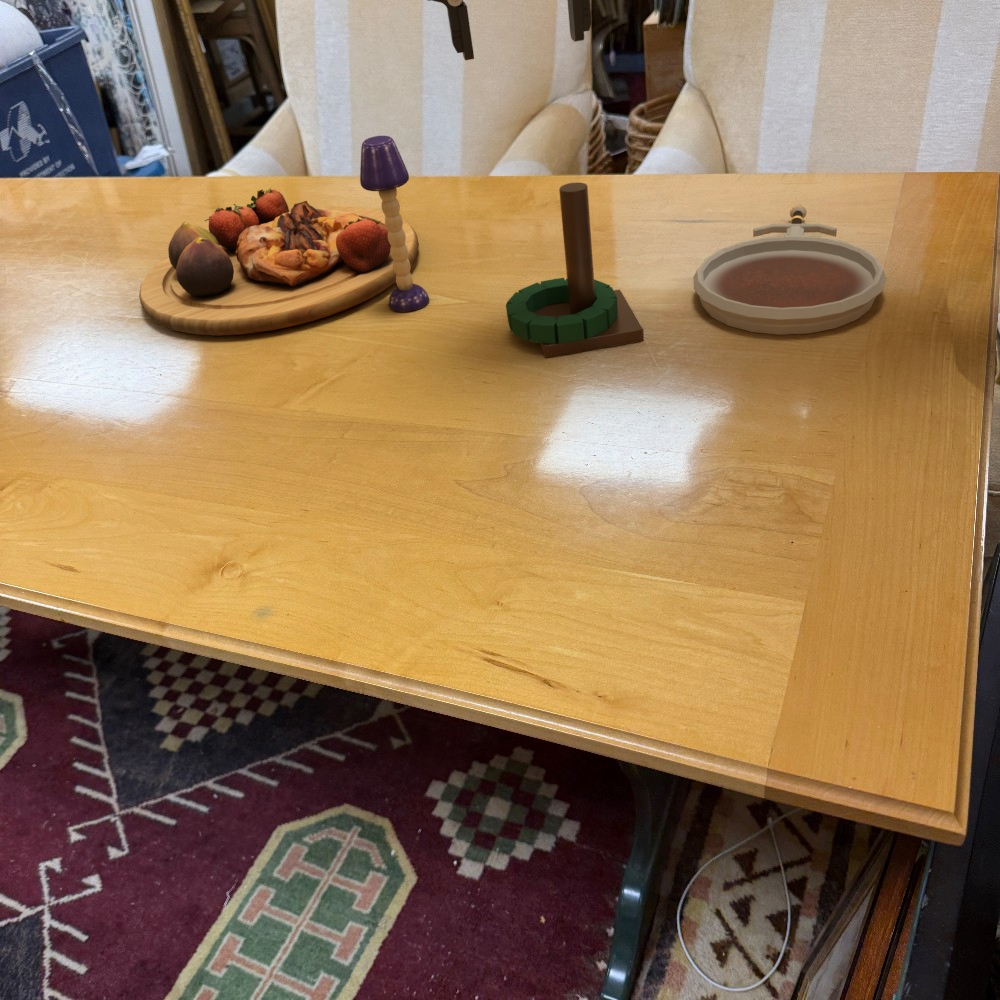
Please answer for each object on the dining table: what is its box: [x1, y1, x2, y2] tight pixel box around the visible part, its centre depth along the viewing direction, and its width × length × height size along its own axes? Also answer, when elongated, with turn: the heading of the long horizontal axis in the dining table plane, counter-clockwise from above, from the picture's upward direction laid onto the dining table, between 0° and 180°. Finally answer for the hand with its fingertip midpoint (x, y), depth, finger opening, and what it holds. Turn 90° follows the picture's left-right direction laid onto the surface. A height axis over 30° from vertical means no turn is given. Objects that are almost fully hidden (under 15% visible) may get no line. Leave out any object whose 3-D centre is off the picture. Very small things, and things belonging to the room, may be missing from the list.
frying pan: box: [692, 204, 887, 336], centre depth 88 cm, size 17×3×28 cm
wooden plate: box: [138, 187, 420, 336], centre depth 103 cm, size 32×32×8 cm
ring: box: [505, 277, 618, 344], centre depth 84 cm, size 10×10×2 cm
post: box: [533, 182, 645, 359], centre depth 81 cm, size 9×9×13 cm
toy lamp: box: [359, 135, 430, 313], centre depth 89 cm, size 5×5×17 cm
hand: (523, 48), depth 70 cm, fingers open, 8 cm apart
